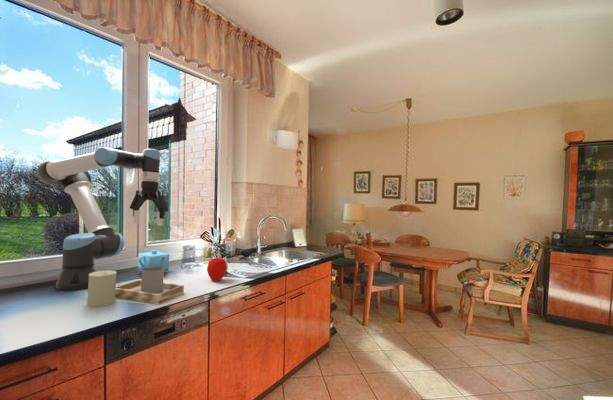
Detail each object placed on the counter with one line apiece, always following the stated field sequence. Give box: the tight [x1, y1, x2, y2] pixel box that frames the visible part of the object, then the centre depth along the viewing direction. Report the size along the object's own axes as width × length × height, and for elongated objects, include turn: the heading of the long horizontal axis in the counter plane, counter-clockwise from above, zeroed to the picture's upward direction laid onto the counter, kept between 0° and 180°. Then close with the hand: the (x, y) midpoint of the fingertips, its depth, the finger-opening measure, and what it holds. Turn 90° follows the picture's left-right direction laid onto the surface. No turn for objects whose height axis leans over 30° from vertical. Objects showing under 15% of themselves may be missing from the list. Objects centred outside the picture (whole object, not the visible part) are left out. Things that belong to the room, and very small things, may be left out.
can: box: [86, 269, 117, 308], centre depth 113 cm, size 9×9×12 cm
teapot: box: [137, 249, 170, 273], centre depth 157 cm, size 18×16×13 cm
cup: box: [140, 267, 165, 294], centre depth 124 cm, size 8×8×10 cm
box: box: [115, 278, 185, 305], centre depth 124 cm, size 24×15×4 cm, turn 76°
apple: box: [206, 257, 228, 282], centre depth 151 cm, size 10×10×12 cm
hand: (147, 224), depth 140 cm, fingers open, 13 cm apart
